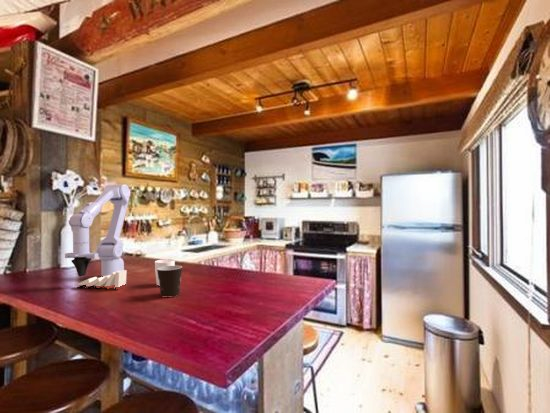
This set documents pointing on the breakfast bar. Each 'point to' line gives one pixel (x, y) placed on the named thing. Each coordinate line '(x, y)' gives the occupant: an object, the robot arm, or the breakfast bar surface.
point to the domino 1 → (87, 281)
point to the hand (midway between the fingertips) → (81, 275)
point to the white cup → (161, 264)
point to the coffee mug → (169, 280)
